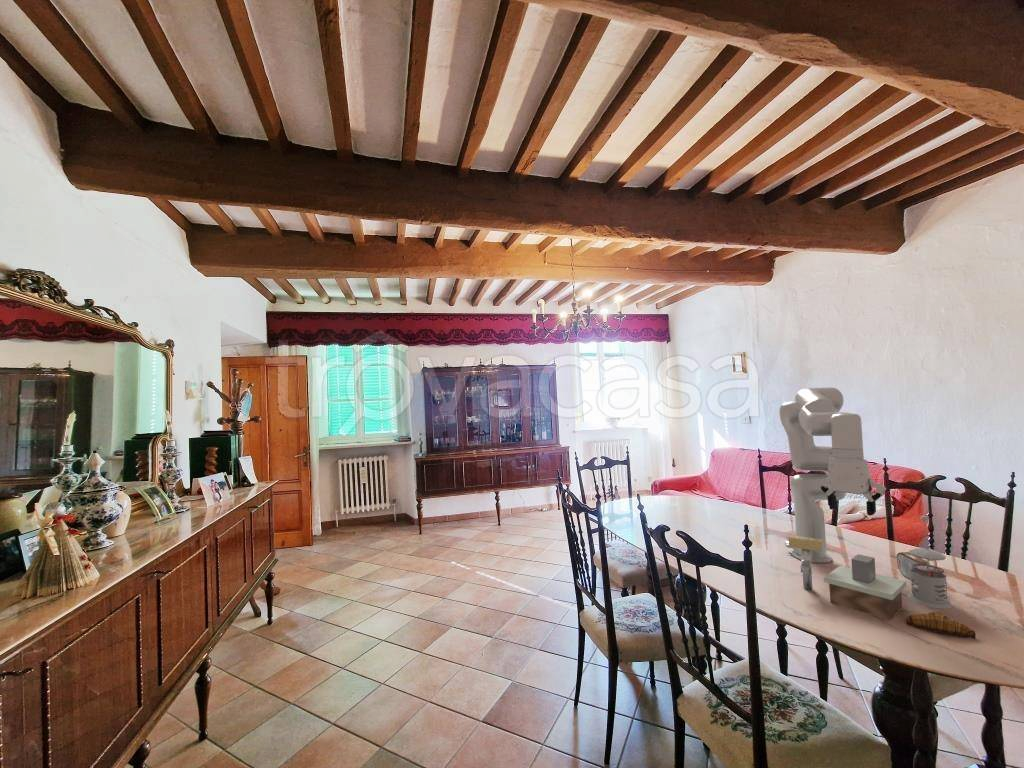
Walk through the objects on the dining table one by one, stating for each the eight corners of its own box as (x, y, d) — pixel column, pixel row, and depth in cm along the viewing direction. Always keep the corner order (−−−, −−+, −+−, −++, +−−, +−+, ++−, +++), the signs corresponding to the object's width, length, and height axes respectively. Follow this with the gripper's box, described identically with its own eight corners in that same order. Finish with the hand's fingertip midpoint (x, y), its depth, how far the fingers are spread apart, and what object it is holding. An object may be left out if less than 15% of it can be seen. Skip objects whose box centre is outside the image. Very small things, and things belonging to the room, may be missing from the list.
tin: (938, 591, 138) (936, 564, 139) (926, 591, 139) (924, 563, 139) (905, 573, 153) (904, 548, 153) (895, 572, 154) (893, 548, 154)
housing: (830, 602, 133) (829, 582, 133) (844, 591, 140) (843, 572, 140) (890, 620, 121) (889, 597, 122) (902, 607, 129) (900, 586, 129)
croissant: (906, 630, 117) (905, 610, 117) (903, 619, 122) (902, 601, 122) (980, 645, 109) (978, 624, 109) (972, 633, 114) (971, 613, 115)
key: (791, 583, 147) (789, 534, 147) (825, 589, 141) (822, 539, 142) (788, 594, 138) (786, 543, 139) (823, 601, 133) (821, 548, 133)
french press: (903, 600, 133) (898, 515, 134) (913, 589, 140) (908, 509, 141) (949, 611, 125) (943, 522, 126) (957, 599, 132) (951, 515, 133)
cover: (824, 582, 133) (822, 556, 133) (840, 570, 142) (839, 546, 142) (892, 600, 120) (890, 572, 121) (906, 586, 129) (904, 560, 129)
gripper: (810, 453, 140) (813, 508, 139) (877, 457, 125) (881, 519, 124) (821, 451, 144) (825, 505, 143) (888, 455, 129) (892, 515, 128)
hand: (851, 511), depth 133 cm, fingers open, 9 cm apart
